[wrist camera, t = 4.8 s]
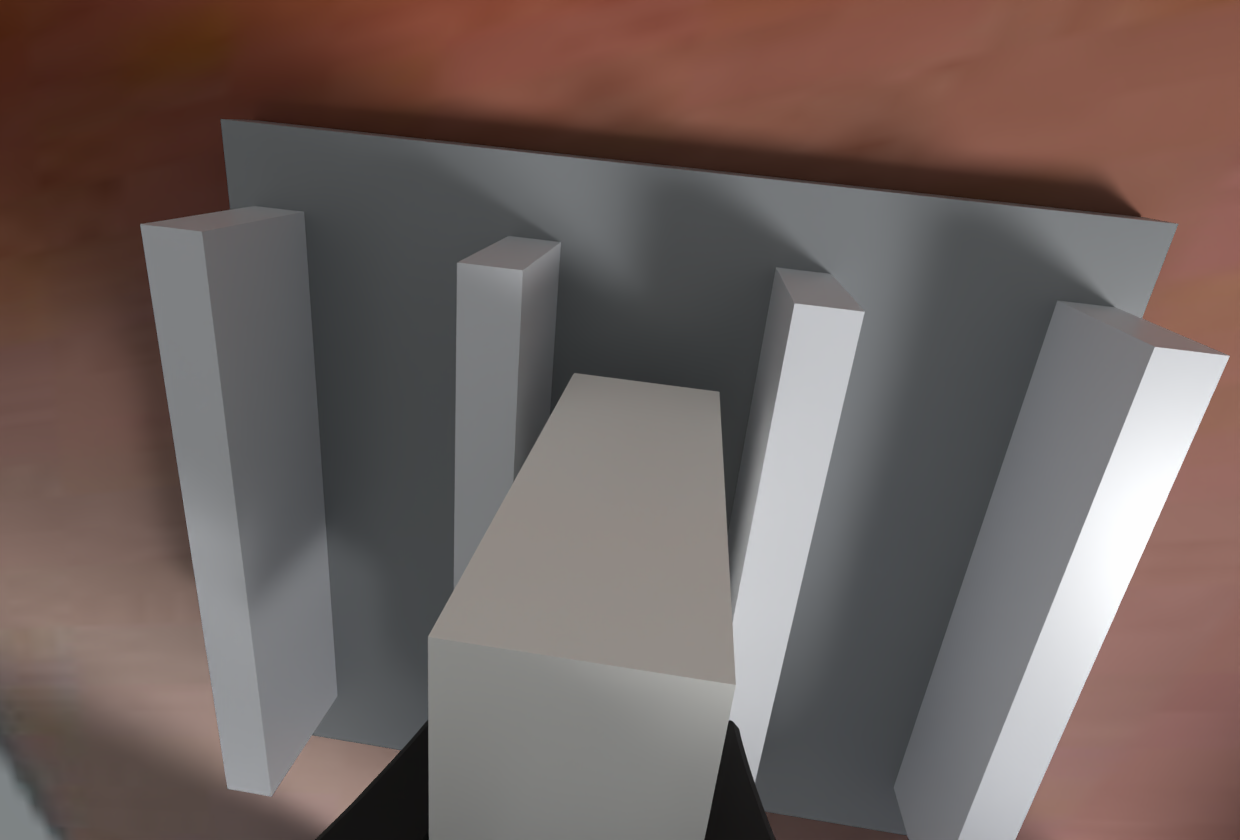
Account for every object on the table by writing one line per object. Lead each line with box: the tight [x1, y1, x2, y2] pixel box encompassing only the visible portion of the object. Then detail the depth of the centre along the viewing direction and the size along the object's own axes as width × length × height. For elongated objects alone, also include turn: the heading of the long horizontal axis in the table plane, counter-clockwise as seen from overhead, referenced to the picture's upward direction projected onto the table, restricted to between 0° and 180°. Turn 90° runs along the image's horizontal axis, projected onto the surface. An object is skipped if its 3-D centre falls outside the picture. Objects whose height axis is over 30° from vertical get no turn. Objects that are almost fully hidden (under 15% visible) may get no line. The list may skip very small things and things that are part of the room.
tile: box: [428, 373, 736, 840], centre depth 10 cm, size 8×2×7 cm, turn 174°
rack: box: [140, 119, 1229, 840], centre depth 15 cm, size 15×17×4 cm
